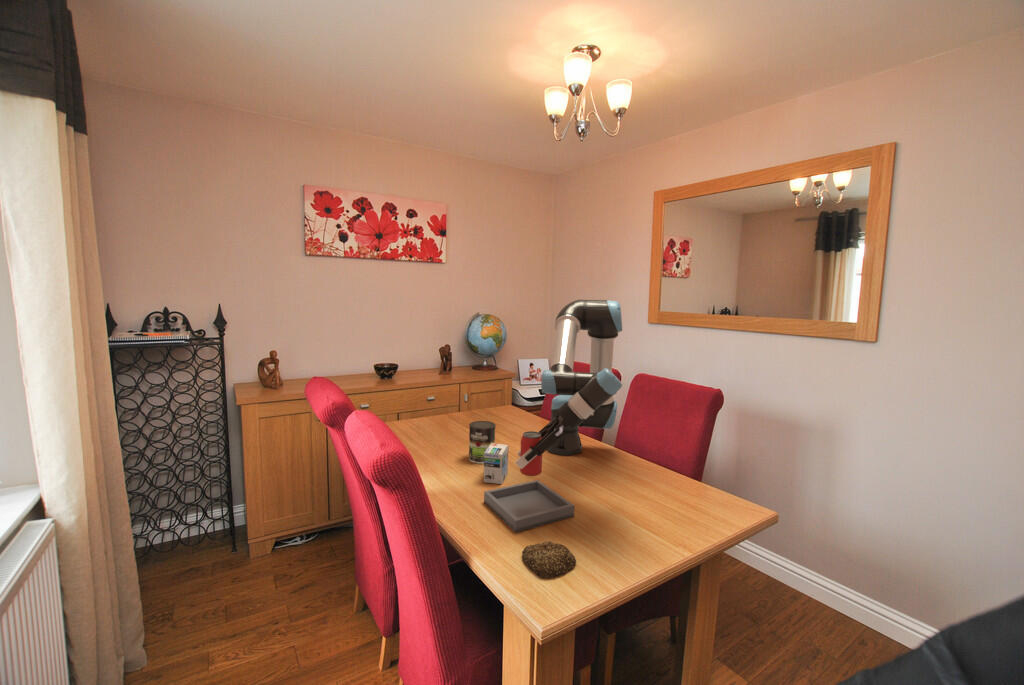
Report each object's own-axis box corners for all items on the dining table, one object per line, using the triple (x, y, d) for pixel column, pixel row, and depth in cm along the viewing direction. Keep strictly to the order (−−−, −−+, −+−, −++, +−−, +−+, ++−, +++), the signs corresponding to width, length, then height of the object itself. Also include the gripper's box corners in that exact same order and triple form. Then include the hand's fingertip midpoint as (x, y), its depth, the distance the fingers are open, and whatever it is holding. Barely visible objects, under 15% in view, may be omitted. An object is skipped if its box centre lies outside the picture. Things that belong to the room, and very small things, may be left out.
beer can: (518, 468, 138) (519, 430, 137) (539, 468, 139) (541, 430, 137) (521, 477, 131) (522, 437, 130) (543, 476, 132) (544, 437, 131)
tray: (537, 489, 150) (538, 479, 150) (574, 516, 133) (574, 505, 132) (484, 502, 140) (484, 491, 140) (515, 532, 123) (516, 520, 123)
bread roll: (537, 583, 102) (538, 563, 102) (516, 554, 114) (516, 535, 113) (585, 571, 107) (586, 551, 107) (560, 544, 119) (560, 526, 118)
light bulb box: (501, 484, 153) (502, 454, 152) (482, 482, 155) (483, 452, 153) (508, 472, 164) (509, 444, 162) (490, 470, 165) (491, 442, 164)
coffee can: (490, 465, 170) (491, 429, 168) (465, 462, 172) (465, 426, 171) (497, 456, 180) (498, 421, 178) (473, 453, 182) (474, 419, 181)
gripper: (586, 430, 122) (525, 483, 125) (582, 411, 141) (529, 457, 145) (568, 410, 122) (507, 464, 125) (566, 394, 141) (513, 441, 144)
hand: (519, 460), depth 135 cm, fingers closed on beer can, 6 cm apart
